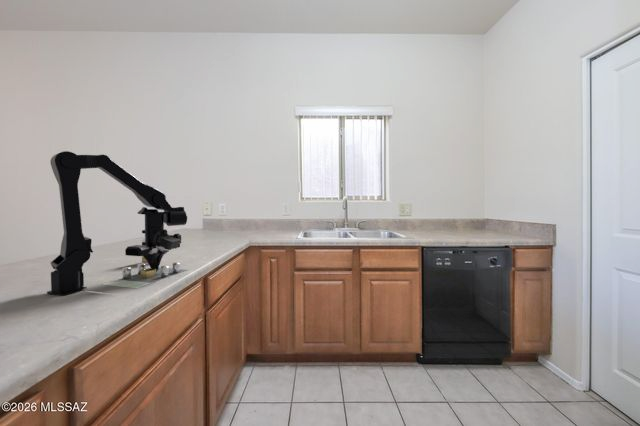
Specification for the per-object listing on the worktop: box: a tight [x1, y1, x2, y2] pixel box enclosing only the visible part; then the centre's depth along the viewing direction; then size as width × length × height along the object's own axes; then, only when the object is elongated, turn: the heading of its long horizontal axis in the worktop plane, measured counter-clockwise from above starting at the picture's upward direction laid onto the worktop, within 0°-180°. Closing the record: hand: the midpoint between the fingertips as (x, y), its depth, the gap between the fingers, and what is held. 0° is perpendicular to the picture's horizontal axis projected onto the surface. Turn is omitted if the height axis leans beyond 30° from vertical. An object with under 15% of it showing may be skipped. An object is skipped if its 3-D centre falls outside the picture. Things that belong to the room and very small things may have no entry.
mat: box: [101, 267, 188, 289], centre depth 100 cm, size 23×13×1 cm, turn 166°
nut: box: [141, 267, 156, 279], centre depth 100 cm, size 4×5×2 cm
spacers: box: [121, 261, 181, 279], centre depth 102 cm, size 14×12×4 cm
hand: (155, 271), depth 103 cm, fingers closed
